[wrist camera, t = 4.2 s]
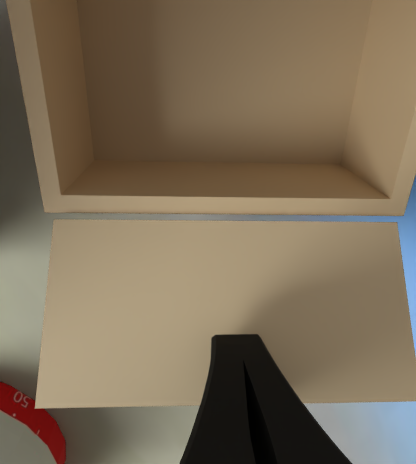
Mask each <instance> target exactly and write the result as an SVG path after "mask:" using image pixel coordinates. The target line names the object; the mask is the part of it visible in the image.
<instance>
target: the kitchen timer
mask: <svg viewBox="0 0 416 464" xmlns="http://www.w3.org/2000/svg"><path fill="white" fill-rule="evenodd" d="M65 460H66V449H65V439H64V437H63V435H62V433H61V431H60V429H59V426H58V424H57V422H56V421H55V420H54V419H53V418H52V417H51V416H50V415H49V413H48V412H47V411H46V410H45V409H44V408H35V400H33V399H31V398H30V397H28V396H27V395H25V394H23V393H22V392H20V391H18V390H17V389H15V388H14V387H12V386H10V385H7V384H5V383H2V382H0V464H64V463H65Z"/></svg>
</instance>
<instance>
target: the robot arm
mask: <svg viewBox="0 0 416 464" xmlns="http://www.w3.org/2000/svg"><path fill="white" fill-rule="evenodd" d="M180 464H352V463H351V462H350V461H349V460H348V458H347V457H346V456H345V455H344V454H343V453H342V452H341V451H340V449H339V448H338V447H337V446H336V445H335V443H334V442H333V441H332V440H331V439H330V437H329V436H328V435H327V434H326V433H325V431H324V430H323V429H322V427H321V426H320V425H319V424H318V422H317V421H316V420H315V419H314V417H313V416H312V415H311V413H310V412H309V411H308V409H307V408H306V407H305V405H304V404H303V403H302V401H301V400H300V398H299V397H298V396H297V394H296V393H295V391H294V390H293V388H292V387H291V386H290V384H289V383H288V381H287V380H286V378H285V377H284V375H283V374H282V372H281V371H280V369H279V367H278V366H277V364H276V363H275V361H274V360H273V358H272V356H271V355H270V353H269V351H268V349H267V348H266V346H265V344H264V342H263V341H262V339H261V337H260V336H259V335H258V334H221V335H214V336H213V337H212V338H211V361H210V367H209V372H208V377H207V381H206V385H205V389H204V393H203V397H202V401H201V404H200V407H199V410H198V414H197V417H196V420H195V423H194V426H193V429H192V432H191V435H190V438H189V440H188V443H187V446H186V448H185V451H184V454H183V456H182V459H181V461H180Z"/></svg>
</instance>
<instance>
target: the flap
mask: <svg viewBox="0 0 416 464" xmlns="http://www.w3.org/2000/svg"><path fill="white" fill-rule="evenodd" d="M221 334H258V335H259V336H260V337H261V339H262V341H263V342H264V344H265V346H266V348H267V349H268V351H269V353H270V355H271V356H272V358H273V360H274V361H275V363H276V364H277V366H278V367H279V369H280V371H281V372H282V374H283V375H284V377H285V378H286V380H287V381H288V383H289V384H290V386H291V387H292V388H293V390H294V391H295V393H296V394H297V396H298V397H299V398H300V400H301V401H302V403H349V402H402V401H416V358H415V350H414V343H413V336H412V328H411V321H410V314H409V306H408V299H407V292H406V284H405V277H404V269H403V262H402V255H401V247H400V240H399V233H398V225H397V222H309V221H190V220H71V219H54V221H53V231H52V241H51V251H50V261H49V271H48V281H47V291H46V301H45V311H44V321H43V331H42V341H41V351H40V361H39V371H38V381H37V391H36V401H35V408H88V407H140V406H192V405H200V404H201V401H202V397H203V393H204V389H205V385H206V381H207V377H208V372H209V367H210V361H211V338H212V337H213V336H214V335H221Z"/></svg>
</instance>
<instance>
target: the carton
mask: <svg viewBox="0 0 416 464" xmlns="http://www.w3.org/2000/svg"><path fill="white" fill-rule="evenodd" d="M6 4H7V9H8V15H9V20H10V26H11V31H12V37H13V42H14V48H15V53H16V59H17V64H18V69H19V75H20V80H21V86H22V91H23V97H24V102H25V108H26V113H27V119H28V124H29V130H30V135H31V141H32V146H33V152H34V157H35V163H36V168H37V174H38V179H39V185H40V190H41V195H42V201H43V206H44V212H45V213H148V214H254V215H361V216H404V213H405V209H406V206H407V202H408V199H409V195H410V192H411V188H412V185H413V181H414V178H415V175H416V0H6Z"/></svg>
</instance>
